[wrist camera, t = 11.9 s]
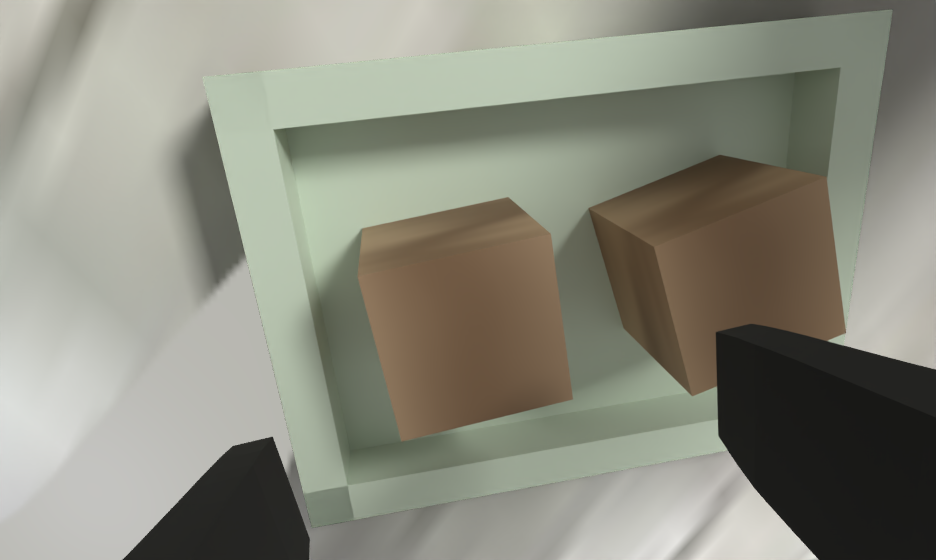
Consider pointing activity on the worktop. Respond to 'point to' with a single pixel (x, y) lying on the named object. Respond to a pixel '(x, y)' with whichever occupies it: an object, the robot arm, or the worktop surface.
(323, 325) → the tray
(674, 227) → the block
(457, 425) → the block
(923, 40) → the worktop surface
